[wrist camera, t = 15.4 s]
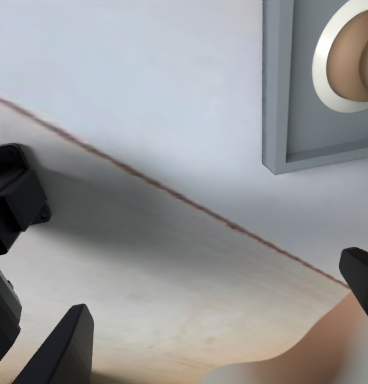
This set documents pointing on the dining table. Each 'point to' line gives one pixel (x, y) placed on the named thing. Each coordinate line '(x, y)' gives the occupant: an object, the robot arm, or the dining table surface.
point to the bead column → (350, 60)
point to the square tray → (307, 88)
